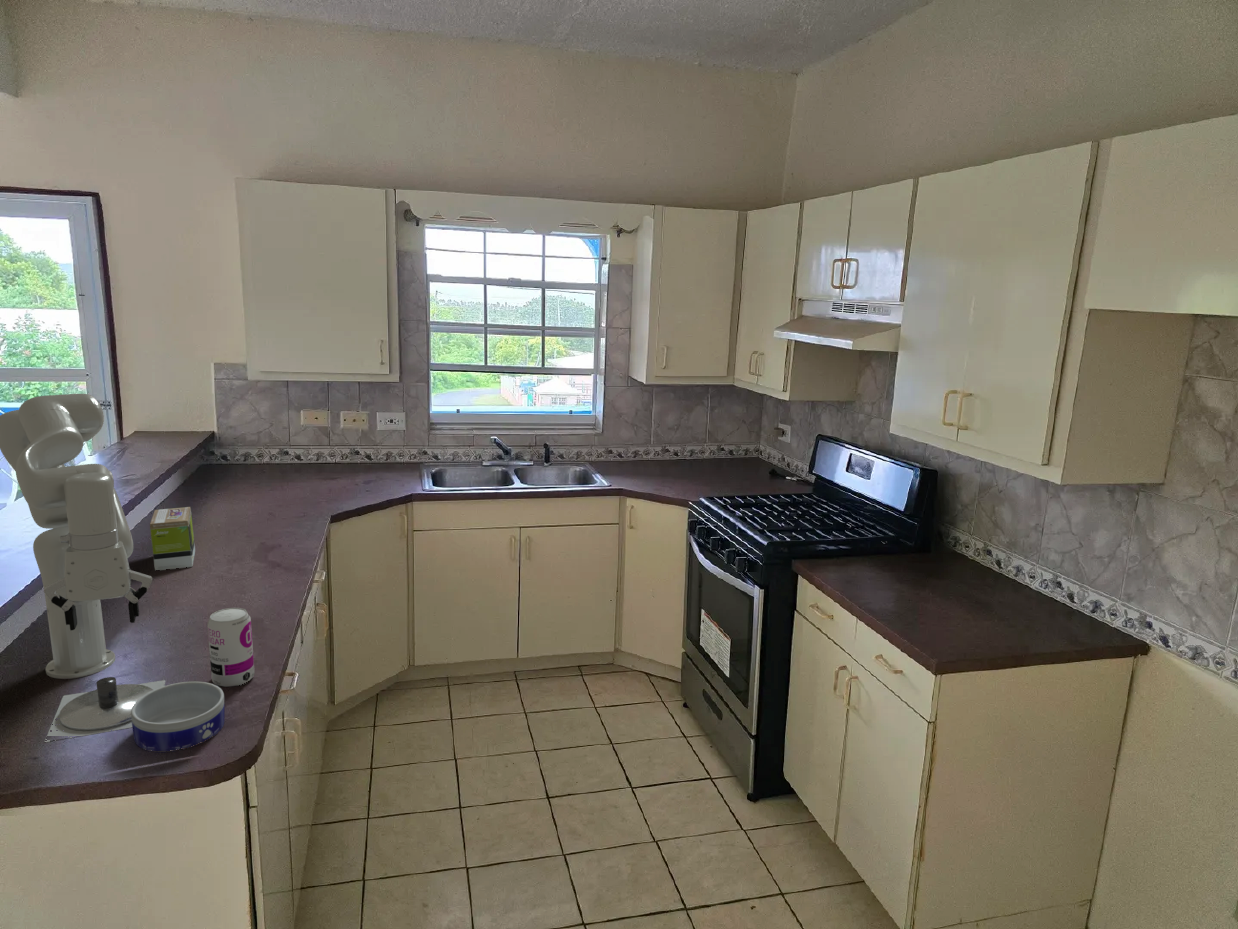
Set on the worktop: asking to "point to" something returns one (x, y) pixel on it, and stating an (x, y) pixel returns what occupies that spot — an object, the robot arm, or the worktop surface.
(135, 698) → the lid
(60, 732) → the mat
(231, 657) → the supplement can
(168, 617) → the worktop surface
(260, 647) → the worktop surface
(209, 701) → the dog bowl
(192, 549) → the tea box
